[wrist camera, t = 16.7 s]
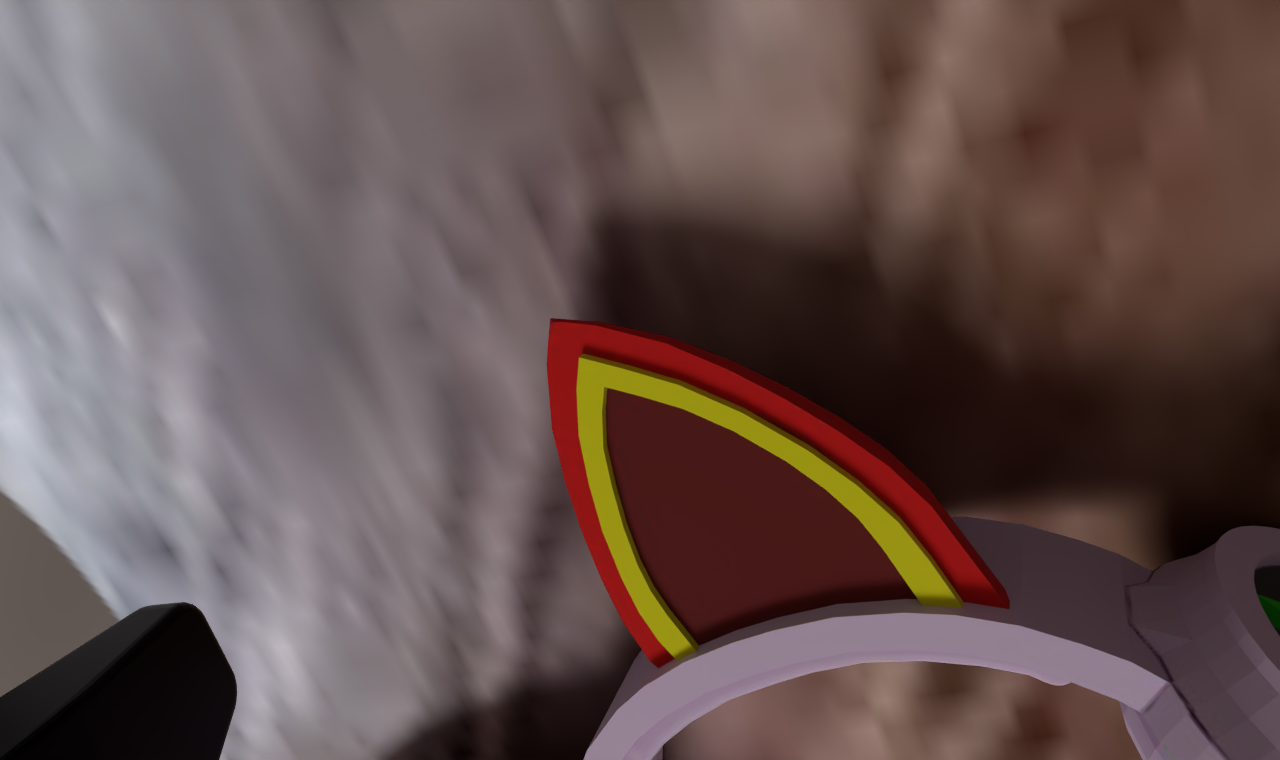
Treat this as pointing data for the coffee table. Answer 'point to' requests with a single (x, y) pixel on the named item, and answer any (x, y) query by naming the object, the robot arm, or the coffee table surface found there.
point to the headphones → (870, 564)
